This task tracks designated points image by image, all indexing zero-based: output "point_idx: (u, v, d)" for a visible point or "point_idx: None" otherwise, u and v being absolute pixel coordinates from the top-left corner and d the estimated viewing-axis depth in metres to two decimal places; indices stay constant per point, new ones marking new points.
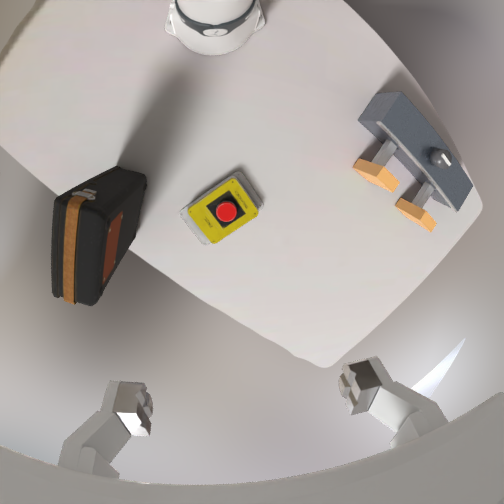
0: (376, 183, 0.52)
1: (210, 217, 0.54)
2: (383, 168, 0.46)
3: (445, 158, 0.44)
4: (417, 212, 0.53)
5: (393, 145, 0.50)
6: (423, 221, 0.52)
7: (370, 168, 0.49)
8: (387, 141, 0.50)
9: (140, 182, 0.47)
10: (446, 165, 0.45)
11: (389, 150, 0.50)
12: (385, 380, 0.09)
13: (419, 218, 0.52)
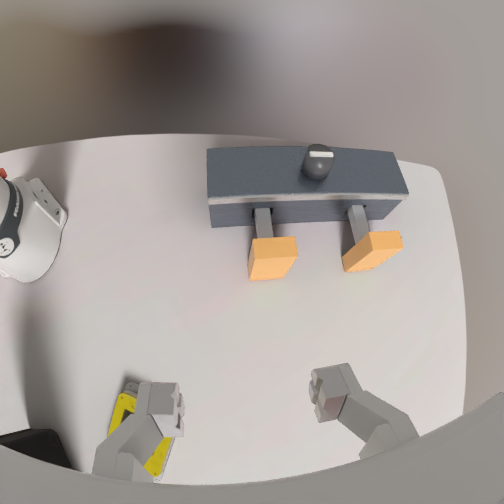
0: (282, 269, 0.38)
1: None
2: (254, 241, 0.33)
3: (318, 153, 0.35)
4: (364, 246, 0.36)
5: (263, 210, 0.41)
6: (379, 246, 0.34)
7: (251, 259, 0.36)
8: (255, 214, 0.42)
9: (40, 437, 0.26)
10: (329, 159, 0.36)
11: (263, 220, 0.40)
12: (354, 389, 0.09)
13: (371, 249, 0.34)
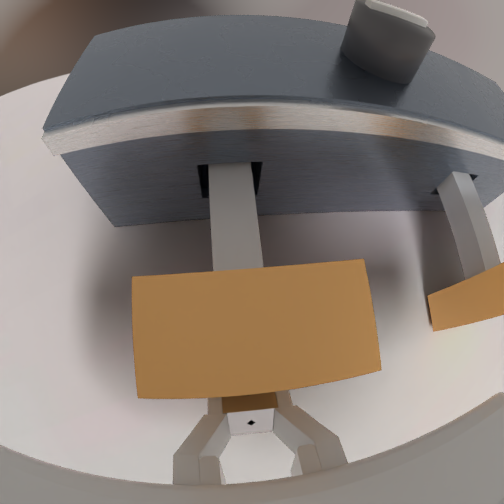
0: None
1: None
2: (141, 291, 0.05)
3: (391, 7, 0.08)
4: None
5: (230, 170, 0.13)
6: None
7: None
8: None
9: None
10: (421, 28, 0.08)
11: (229, 197, 0.12)
12: (283, 402, 0.09)
13: None
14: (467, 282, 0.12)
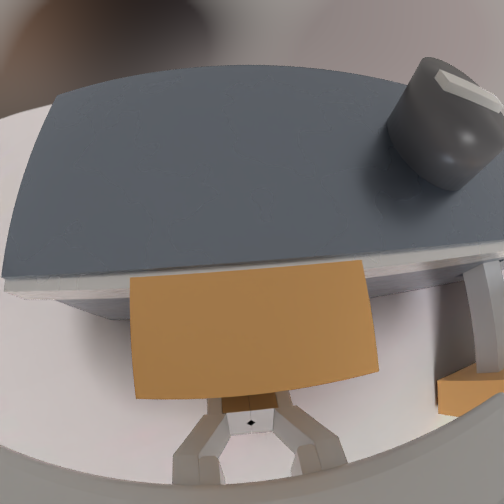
0: None
1: None
2: (139, 292, 0.05)
3: (467, 86, 0.06)
4: None
5: None
6: None
7: None
8: None
9: None
10: (497, 118, 0.06)
11: None
12: (283, 402, 0.09)
13: None
14: (478, 383, 0.11)
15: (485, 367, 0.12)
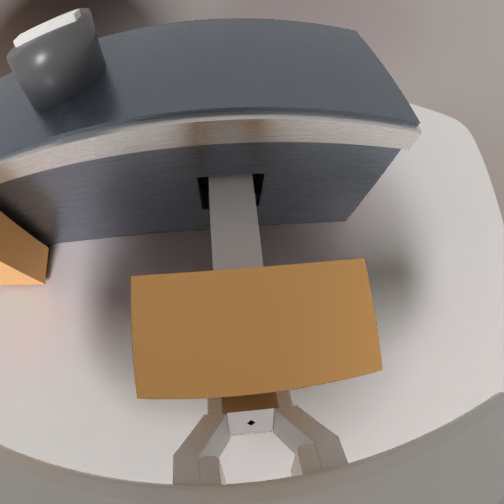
0: None
1: None
2: None
3: (35, 29, 0.06)
4: None
5: None
6: (189, 376, 0.05)
7: None
8: None
9: None
10: (60, 29, 0.06)
11: None
12: (283, 402, 0.09)
13: None
14: None
15: None
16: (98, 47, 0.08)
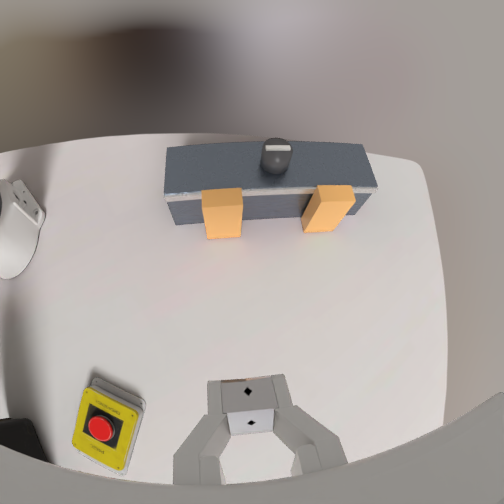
0: (234, 223, 0.39)
1: (95, 441, 0.29)
2: (203, 192, 0.35)
3: (274, 147, 0.35)
4: (315, 200, 0.38)
5: None
6: (328, 198, 0.36)
7: None
8: None
9: (15, 424, 0.25)
10: (286, 152, 0.35)
11: None
12: (283, 402, 0.09)
13: (320, 201, 0.36)
14: (307, 207, 0.42)
15: None
16: None
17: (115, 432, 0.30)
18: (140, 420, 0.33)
